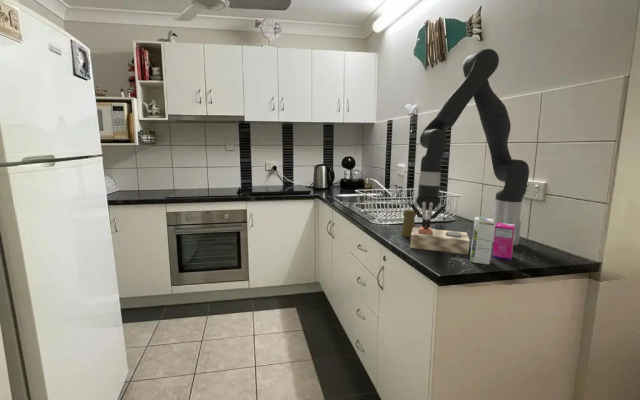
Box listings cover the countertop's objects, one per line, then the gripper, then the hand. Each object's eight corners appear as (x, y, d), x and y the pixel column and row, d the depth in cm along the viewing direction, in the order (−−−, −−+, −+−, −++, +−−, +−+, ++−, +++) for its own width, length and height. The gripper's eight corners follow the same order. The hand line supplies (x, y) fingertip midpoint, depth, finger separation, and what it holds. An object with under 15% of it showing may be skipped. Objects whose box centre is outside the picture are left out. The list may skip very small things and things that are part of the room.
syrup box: (469, 257, 114) (473, 216, 111) (488, 259, 112) (493, 217, 109) (470, 262, 109) (475, 219, 106) (490, 265, 106) (495, 221, 104)
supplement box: (493, 252, 119) (497, 222, 117) (512, 256, 116) (516, 224, 114) (491, 257, 114) (495, 225, 112) (511, 260, 111) (515, 227, 109)
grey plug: (458, 245, 125) (459, 233, 124) (459, 249, 121) (460, 236, 120) (445, 244, 127) (447, 231, 126) (446, 247, 122) (447, 234, 122)
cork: (404, 232, 145) (406, 207, 143) (417, 235, 141) (419, 209, 139) (398, 235, 140) (400, 209, 138) (411, 237, 136) (413, 211, 134)
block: (465, 244, 128) (466, 232, 127) (468, 254, 117) (469, 240, 116) (412, 239, 134) (412, 227, 133) (410, 247, 123) (411, 234, 122)
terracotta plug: (430, 240, 128) (431, 227, 127) (430, 243, 124) (431, 230, 123) (419, 239, 130) (420, 226, 129) (418, 242, 125) (419, 229, 125)
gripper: (447, 183, 125) (443, 228, 127) (411, 181, 129) (408, 224, 132) (448, 185, 117) (444, 232, 120) (410, 183, 122) (407, 229, 125)
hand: (425, 228), depth 126 cm, fingers closed
